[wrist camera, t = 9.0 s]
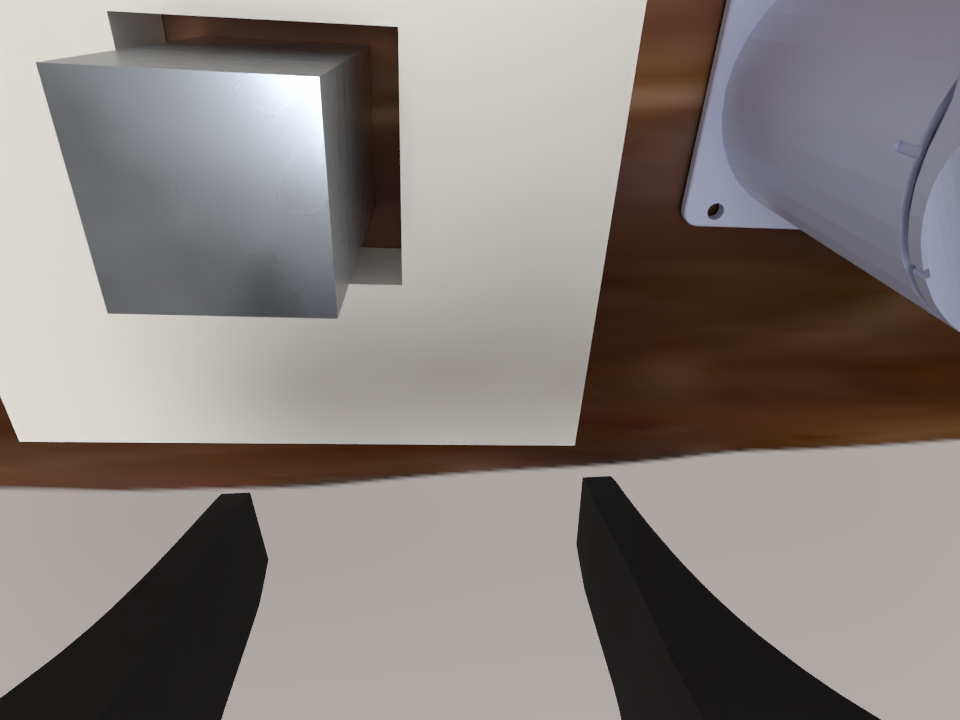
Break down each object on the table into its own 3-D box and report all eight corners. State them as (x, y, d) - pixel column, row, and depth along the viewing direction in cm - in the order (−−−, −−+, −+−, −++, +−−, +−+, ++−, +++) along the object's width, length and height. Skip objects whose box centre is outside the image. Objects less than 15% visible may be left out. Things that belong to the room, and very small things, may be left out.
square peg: (369, 45, 17) (319, 75, 10) (375, 204, 19) (337, 318, 12) (203, 36, 17) (35, 62, 10) (229, 199, 19) (107, 313, 12)
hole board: (650, -245, 14) (695, -299, 12) (560, 396, 23) (574, 445, 21) (-177, -317, 13) (-332, -397, 10) (68, 390, 22) (19, 441, 20)
